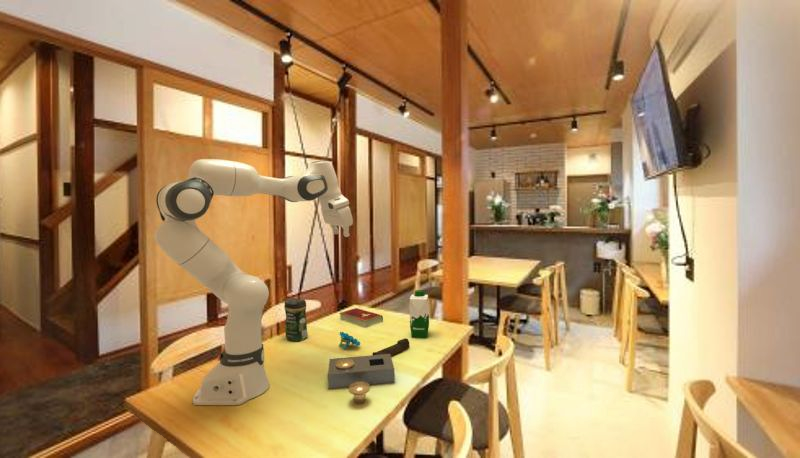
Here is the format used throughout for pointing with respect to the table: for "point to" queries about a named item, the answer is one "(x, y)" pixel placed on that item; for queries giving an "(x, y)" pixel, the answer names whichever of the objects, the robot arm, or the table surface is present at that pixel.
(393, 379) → the block
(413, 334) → the milk carton
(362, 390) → the tan dome cap
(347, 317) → the hardcover book
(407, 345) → the hand tool
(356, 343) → the teal cog wheel
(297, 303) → the coffee jar
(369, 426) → the table surface
